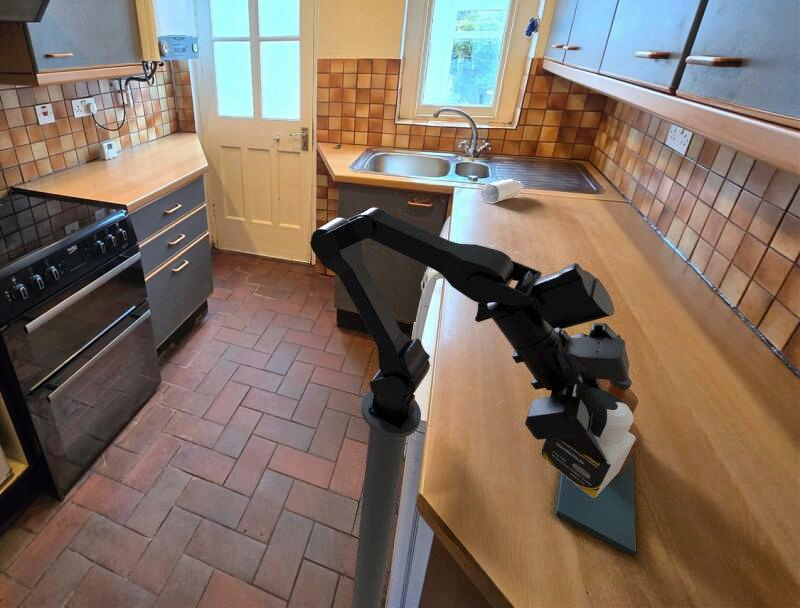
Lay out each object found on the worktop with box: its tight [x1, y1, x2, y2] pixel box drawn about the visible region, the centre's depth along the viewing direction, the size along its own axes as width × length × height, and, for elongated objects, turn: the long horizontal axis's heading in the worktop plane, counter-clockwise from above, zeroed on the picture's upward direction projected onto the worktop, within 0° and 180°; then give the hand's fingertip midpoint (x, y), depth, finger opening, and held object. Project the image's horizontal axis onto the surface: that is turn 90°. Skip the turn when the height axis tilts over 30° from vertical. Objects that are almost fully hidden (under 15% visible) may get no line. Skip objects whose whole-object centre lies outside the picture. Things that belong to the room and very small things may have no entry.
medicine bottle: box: [539, 388, 636, 498], centre depth 54 cm, size 7×7×12 cm
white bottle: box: [480, 178, 525, 204], centre depth 165 cm, size 8×19×8 cm, turn 117°
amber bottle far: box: [599, 377, 639, 414], centre depth 66 cm, size 6×6×10 cm
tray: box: [555, 455, 637, 557], centre depth 62 cm, size 8×24×1 cm, turn 144°
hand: (605, 437), depth 53 cm, fingers closed on medicine bottle, 8 cm apart
